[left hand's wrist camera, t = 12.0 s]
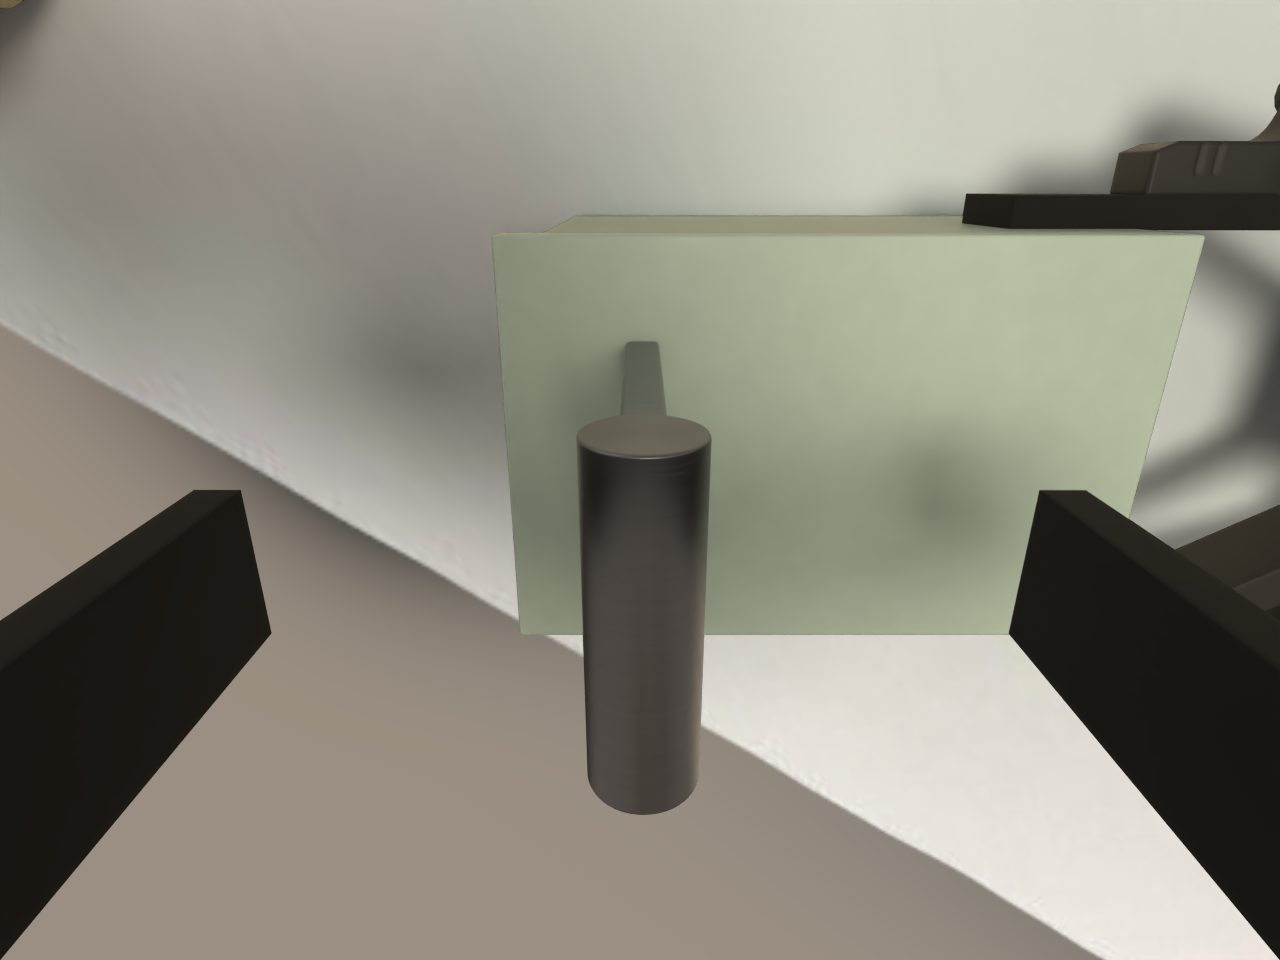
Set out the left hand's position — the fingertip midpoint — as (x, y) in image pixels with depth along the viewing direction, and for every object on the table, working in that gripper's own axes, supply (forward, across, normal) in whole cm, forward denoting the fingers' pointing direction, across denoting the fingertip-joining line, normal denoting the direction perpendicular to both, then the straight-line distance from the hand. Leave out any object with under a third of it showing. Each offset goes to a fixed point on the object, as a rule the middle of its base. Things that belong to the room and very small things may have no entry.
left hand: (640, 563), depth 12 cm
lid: (+6, +4, 0) cm, 7 cm away
